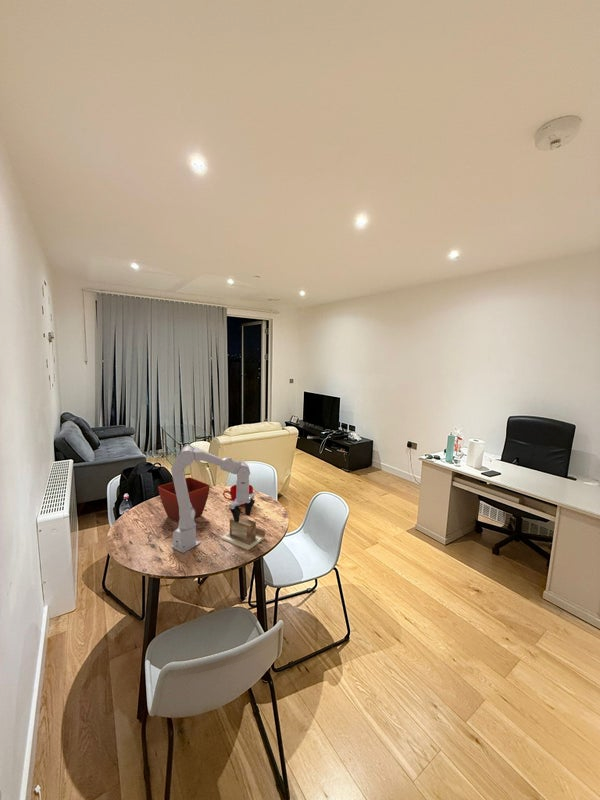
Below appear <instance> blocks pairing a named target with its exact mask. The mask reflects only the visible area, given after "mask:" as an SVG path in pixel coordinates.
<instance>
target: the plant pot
mask: <svg viewBox="0 0 600 800" xmlns="http://www.w3.org/2000/svg"><path fill="white" fill-rule="evenodd" d="M185 480H186V484H187V489H188V494H189V499H190V503H191V504H192V507H193V509H194V510H195V512H196V514H195V517H194V520H195V519H196V518H199V517H201V516H202V515H203V513H204V510H205V508H206V505H207V502H208V497H209V494H210V486H211V484H208V483H206V482H203V481H201V480H198V479H196V478H193V477H189V476H188V477H185ZM157 489H158V494H159V498H160V501H161V504H162V507H163V509H164V512H165V514H166V516H167V518H169V519H170V520H172V521H174V522H176V523H178V524H179V519H180V517H179V505H178V500H177V496H176V491H175V486H174V481H171V482H169V483H165V484H161V485H159V486H157Z"/></svg>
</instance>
